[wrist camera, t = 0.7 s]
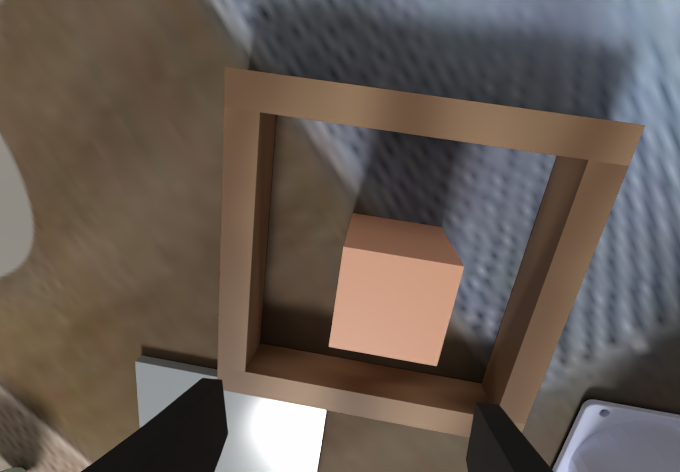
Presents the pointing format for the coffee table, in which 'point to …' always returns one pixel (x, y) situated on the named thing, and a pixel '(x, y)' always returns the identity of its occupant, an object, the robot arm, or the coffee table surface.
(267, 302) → the coffee table surface
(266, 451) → the tile
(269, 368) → the well frame
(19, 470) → the pale green pointed piece
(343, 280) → the terracotta block
